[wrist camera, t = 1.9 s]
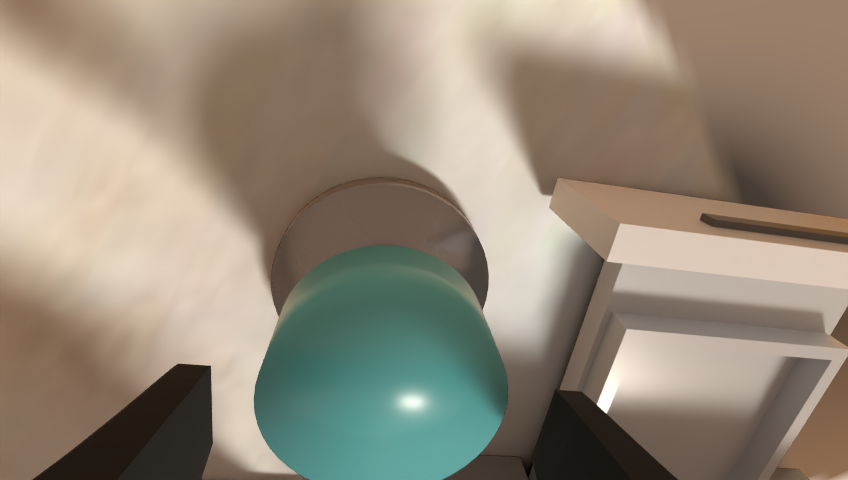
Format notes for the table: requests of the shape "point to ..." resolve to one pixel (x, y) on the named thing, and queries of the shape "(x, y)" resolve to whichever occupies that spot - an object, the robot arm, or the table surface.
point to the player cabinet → (507, 476)
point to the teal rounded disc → (380, 370)
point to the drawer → (706, 324)
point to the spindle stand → (378, 231)
